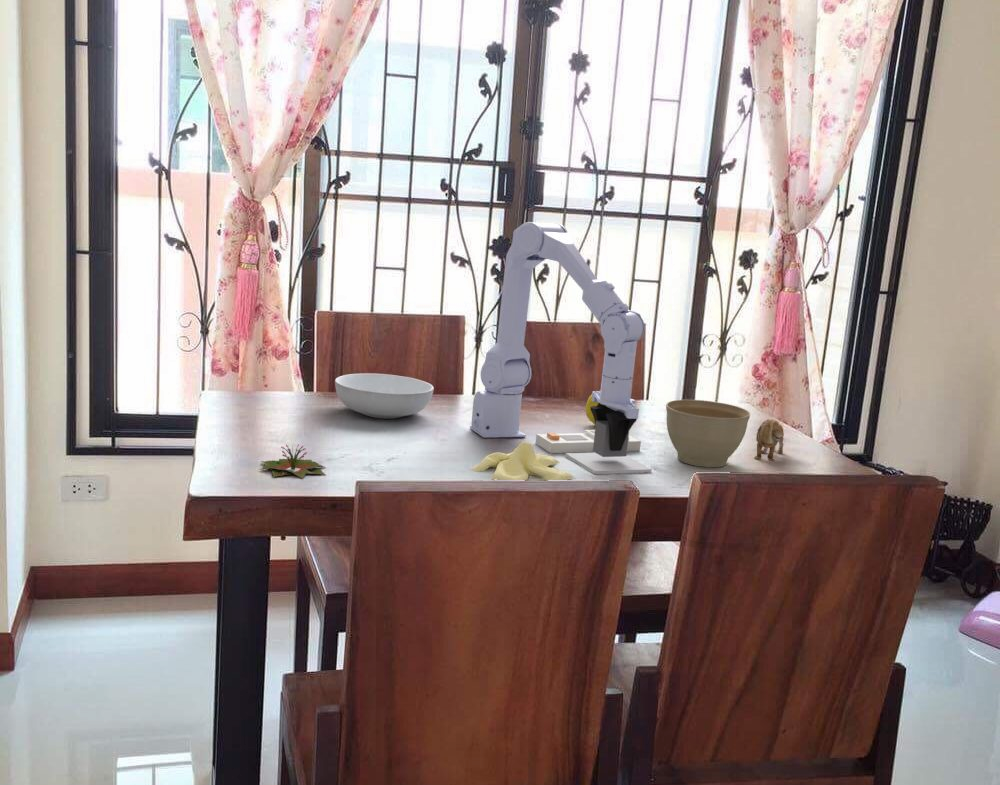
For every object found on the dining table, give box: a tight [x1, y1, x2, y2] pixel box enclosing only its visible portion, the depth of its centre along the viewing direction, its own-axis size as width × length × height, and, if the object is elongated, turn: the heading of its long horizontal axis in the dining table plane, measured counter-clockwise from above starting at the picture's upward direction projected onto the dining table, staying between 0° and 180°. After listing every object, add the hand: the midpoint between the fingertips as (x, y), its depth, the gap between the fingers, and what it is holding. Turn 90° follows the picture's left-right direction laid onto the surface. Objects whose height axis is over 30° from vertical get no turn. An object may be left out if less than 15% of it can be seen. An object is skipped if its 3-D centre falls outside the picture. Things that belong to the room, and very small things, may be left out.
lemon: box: [585, 394, 598, 427], centre depth 221 cm, size 6×6×8 cm
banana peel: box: [469, 440, 574, 481], centre depth 181 cm, size 22×19×6 cm
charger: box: [592, 420, 630, 457], centre depth 190 cm, size 5×4×6 cm
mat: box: [565, 452, 653, 475], centre depth 191 cm, size 12×12×1 cm
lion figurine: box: [754, 418, 785, 462], centre depth 207 cm, size 15×5×9 cm, turn 161°
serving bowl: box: [334, 372, 435, 419], centre depth 215 cm, size 21×21×7 cm
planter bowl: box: [665, 399, 751, 468], centre depth 198 cm, size 16×16×11 cm
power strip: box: [535, 429, 642, 454], centre depth 202 cm, size 20×7×3 cm, turn 113°
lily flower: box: [258, 443, 327, 480], centre depth 170 cm, size 12×12×5 cm
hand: (609, 447), depth 190 cm, fingers closed on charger, 4 cm apart
